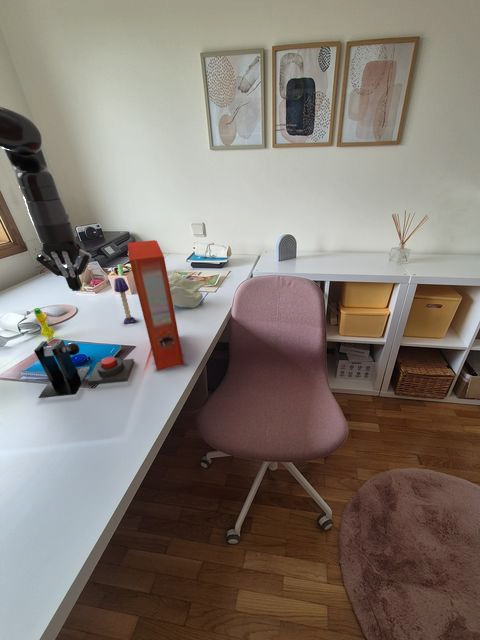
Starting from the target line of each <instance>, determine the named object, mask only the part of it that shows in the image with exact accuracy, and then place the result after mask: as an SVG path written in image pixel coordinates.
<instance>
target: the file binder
mask: <svg viewBox="0 0 480 640" xmlns="http://www.w3.org/2000/svg"><path fill="white" fill-rule="evenodd" d="M127 251H128V260H129V261H128V262H129V265H130V269H131V272H132V276H133V279H134V285H135V288H136V292H137V296H138V300H139V304H140V309H141V312H142V316H143V320H144V324H145V328H146V333H147V336H148V341H149V344H150V348H151V352H152V357H153V361H154V363H155V368H156V370H157V371H161V370H166V369H170V368H173V367H177V366H183V365H184V364H185V363H184V356H183V351H182V346H181V340H180V335H179V329H178V325H177V319H176V314H175V308H174V305H173V302H172V297H171V291H170V286H169V281H168V278H169V275H168V271H167V264H166V261H165V260H166V259H165V255H164V254H163V252H162V249H161V247H160V245H159V243H158V240H154V239H153V240H143V241H132V242H127Z"/></svg>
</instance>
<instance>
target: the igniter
mask: <svg viewBox="0 0 480 640" xmlns="http://www.w3.org/2000/svg"><path fill="white" fill-rule="evenodd" d="M115 358H116V357H114V356H106V357H104V358H102V359H101V360H100V362H101V364H102V367H103V368H104V369H110V368H113V367H115V366H116V365H117V363H116V360H115Z"/></svg>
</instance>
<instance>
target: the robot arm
mask: <svg viewBox="0 0 480 640" xmlns="http://www.w3.org/2000/svg"><path fill="white" fill-rule="evenodd" d="M0 147H1V148H2V149H3V150H4V153H5V154H6V157H7V159H8V161H9V163H10V165H11V167H12V169H13V171H14V174H15V178H16V181H17V184H18V187H19V189H20V192H21V194H22V197H23V199H24V201H25V206H26V208H27V212H28V215H29V217H30V220H31V222H32V226H33V227H34V230H35V232H36V235H37V237H38V240H39V242H40V243H41V245H42V247H41V250H42V253H41V254H40V255H38V256H37V257H36V258H35V259H36V261H37V263H40V264H41V265H42V266H43V267H45V268H46V269H47V270H49V271H50V272H52V273H53V274H54V275H55V276H57V277H59V276H60V277H64V279H65V281H66V283H67V287H68V288H69V289H70V290H71V291H72V292H79V291H81V289H82V287H83V284H82V280H81V277H80V276H81V275H82V274H83V273H85V272H86V270H87V268H88V265H89V263H90V262H91V259H92V257H93V253H92V252H86V251H85V250H83V249H82V248H81V245H80V244H79V243H78V242H77V237H76V235H75V231H74V229H73V225H72V222H71V219H70V215H69V214H68V210H67V208H66V206H65V204H64V202H63V200H62V197H61V195H60V191H59V189H58V186H57V183H56V180H55V177H54V176H53V173H52V172H51V171H50V170H49V168H48V165H47V161H46V159H45V155H44V152H43V150H42V147H43V136H42V134H41V131H40V129H39V128H38V127H37V125H36V124H35V123H34V121H32V120H31V119H30V118H28V117H27V116H25V115H23V114H21V113H19V112H16V111H14V110H11V109H9V108H6V107H4V106H0ZM78 259H80V260H81V261H80V263H79V265H78Z"/></svg>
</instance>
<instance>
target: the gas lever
mask: <svg viewBox="0 0 480 640" xmlns="http://www.w3.org/2000/svg"><path fill="white" fill-rule="evenodd" d="M65 345H66V348H67V350H68V352H69V354H70V356H76V355H78V354H79V353H80V350H81V348H80V346H79V345H78V343H76V342H70V343H67V344H65ZM53 347H54V345H49V346H48V347H43V348H44V356H54V354H53V352H52V350H51V349H52V348H53ZM54 357H55V356H54Z"/></svg>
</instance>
